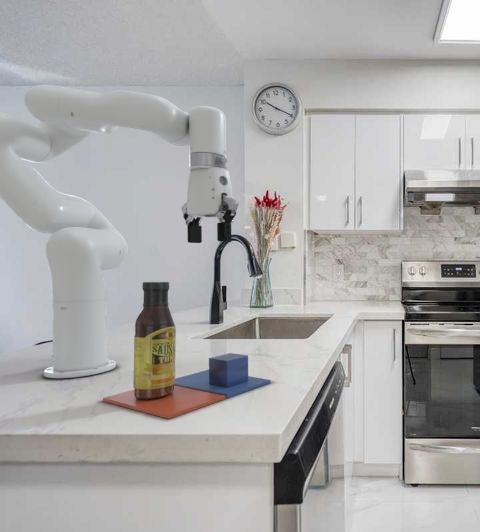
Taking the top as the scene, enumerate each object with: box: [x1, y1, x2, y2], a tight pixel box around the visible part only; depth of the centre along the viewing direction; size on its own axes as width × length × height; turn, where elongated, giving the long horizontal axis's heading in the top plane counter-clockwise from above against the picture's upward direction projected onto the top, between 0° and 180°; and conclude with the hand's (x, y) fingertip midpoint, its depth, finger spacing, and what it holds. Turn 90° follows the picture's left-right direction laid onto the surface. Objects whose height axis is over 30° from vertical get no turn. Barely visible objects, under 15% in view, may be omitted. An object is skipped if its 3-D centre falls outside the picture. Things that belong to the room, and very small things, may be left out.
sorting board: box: [102, 369, 272, 420], centre depth 76 cm, size 18×21×1 cm
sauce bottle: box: [132, 281, 177, 399], centre depth 73 cm, size 6×6×20 cm
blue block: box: [208, 352, 249, 388], centre depth 80 cm, size 5×5×5 cm
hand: (209, 242), depth 92 cm, fingers open, 9 cm apart
